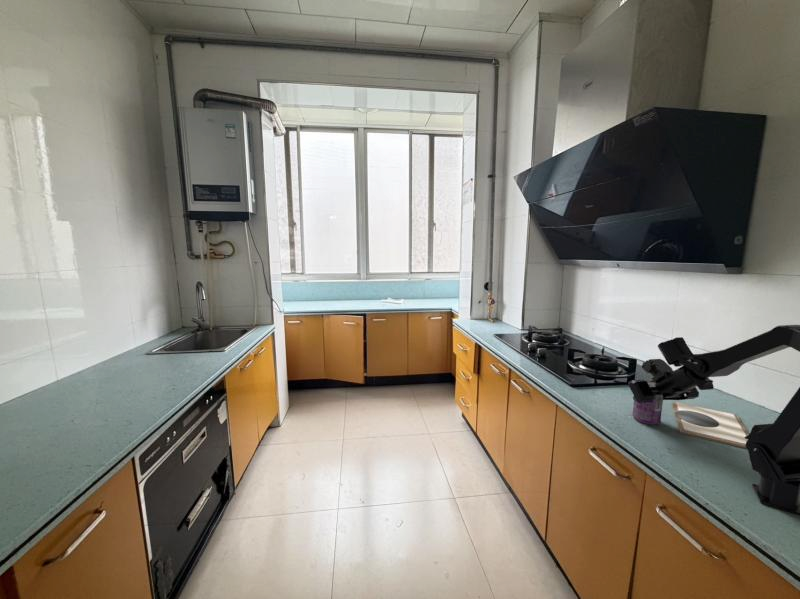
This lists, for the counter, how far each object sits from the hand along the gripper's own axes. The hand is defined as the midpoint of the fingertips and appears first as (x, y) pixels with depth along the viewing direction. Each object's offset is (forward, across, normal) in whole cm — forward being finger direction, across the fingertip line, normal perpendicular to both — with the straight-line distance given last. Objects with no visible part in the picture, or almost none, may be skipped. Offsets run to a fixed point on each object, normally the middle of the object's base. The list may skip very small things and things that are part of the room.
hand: (644, 398), depth 103 cm
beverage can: (+4, 0, +6) cm, 7 cm away
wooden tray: (+1, -17, +9) cm, 19 cm away
